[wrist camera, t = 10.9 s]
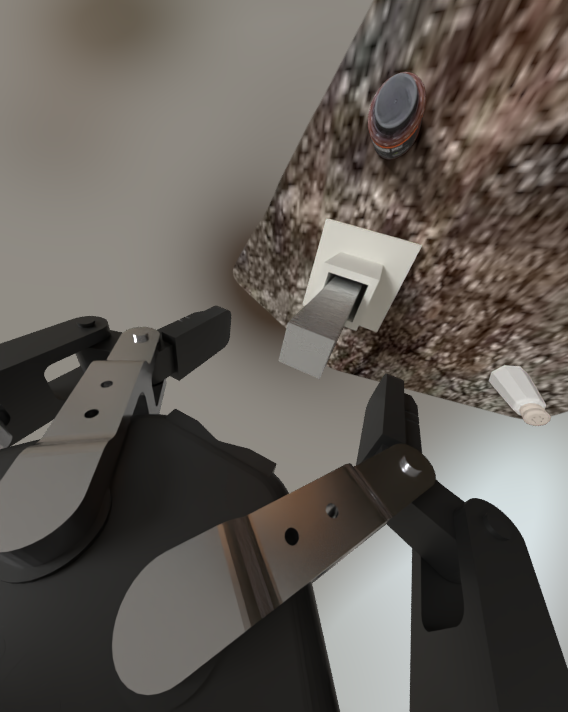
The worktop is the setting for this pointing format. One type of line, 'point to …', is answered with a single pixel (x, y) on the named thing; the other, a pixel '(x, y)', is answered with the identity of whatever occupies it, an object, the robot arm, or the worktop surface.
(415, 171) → the worktop surface
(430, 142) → the worktop surface
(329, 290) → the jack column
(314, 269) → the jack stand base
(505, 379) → the pepper shaker
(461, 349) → the worktop surface
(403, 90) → the supplement bottle
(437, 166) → the worktop surface
